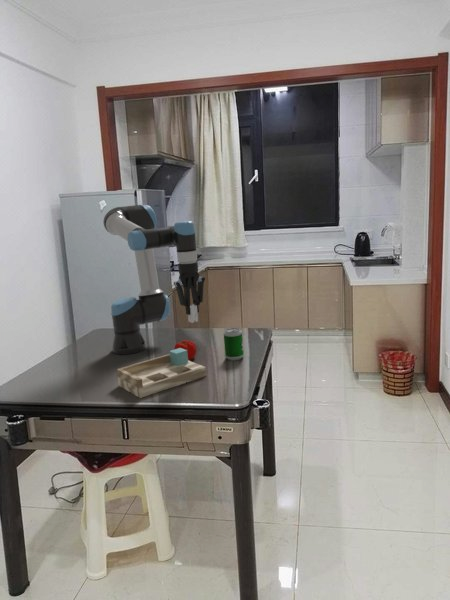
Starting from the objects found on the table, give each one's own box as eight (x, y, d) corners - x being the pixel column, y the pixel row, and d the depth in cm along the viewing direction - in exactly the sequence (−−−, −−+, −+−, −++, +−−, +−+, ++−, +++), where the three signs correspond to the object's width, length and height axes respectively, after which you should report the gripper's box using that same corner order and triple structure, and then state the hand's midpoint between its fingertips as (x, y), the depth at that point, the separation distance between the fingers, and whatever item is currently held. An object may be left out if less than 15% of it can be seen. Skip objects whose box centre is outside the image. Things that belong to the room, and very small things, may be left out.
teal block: (170, 363, 198) (169, 351, 197) (181, 359, 201) (180, 347, 200) (177, 366, 194) (176, 353, 193) (188, 362, 197) (187, 350, 196)
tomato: (180, 364, 207) (178, 346, 205) (172, 358, 215) (170, 341, 213) (201, 359, 211) (199, 342, 210) (192, 354, 219) (190, 337, 217)
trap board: (118, 385, 189) (116, 369, 187) (182, 365, 205) (180, 350, 203) (140, 398, 175) (138, 380, 174) (206, 375, 191) (204, 359, 190)
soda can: (242, 360, 205) (240, 332, 202) (224, 361, 206) (221, 332, 204) (245, 354, 212) (243, 327, 209) (227, 355, 214) (225, 327, 211)
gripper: (198, 259, 201) (203, 316, 206) (166, 264, 193) (172, 324, 198) (208, 260, 195) (213, 319, 200) (176, 265, 187) (182, 327, 192)
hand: (193, 321), depth 199 cm, fingers closed
